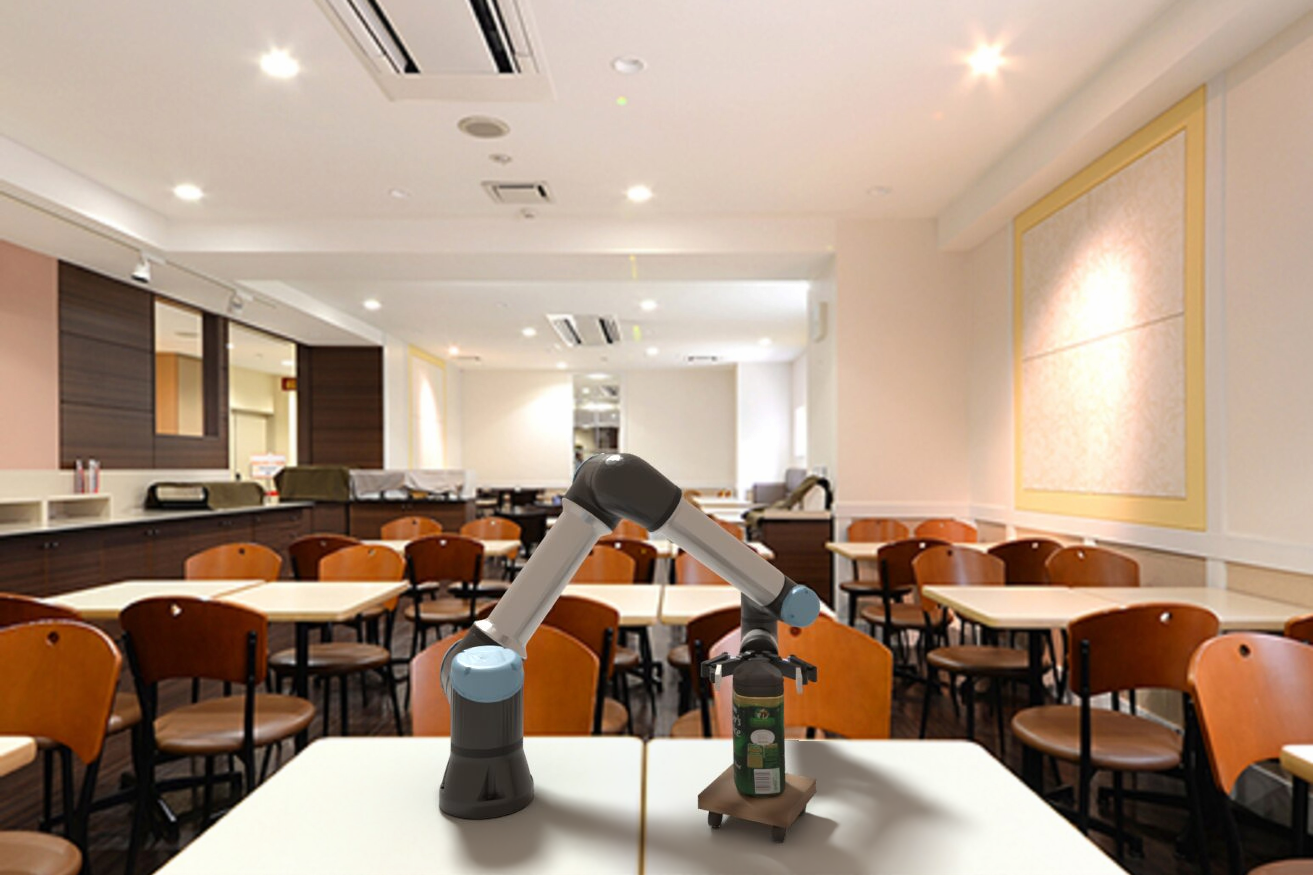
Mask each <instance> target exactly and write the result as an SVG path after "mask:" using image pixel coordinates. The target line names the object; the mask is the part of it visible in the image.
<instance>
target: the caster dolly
mask: <svg viewBox="0 0 1313 875" xmlns="http://www.w3.org/2000/svg"><path fill="white" fill-rule="evenodd" d="M815 794H817V778H815V777H809V776H804V775H797V774H793V773H787V772H785V790H784V792H783V793H782V794H778V795H774V796H770V797H754V796H750V795H746V794H742V793H740V792H739V791H738V790H737V788H736V785H735V783H734V767H733V763H732V764H731V765H729V766H728V767H727V768H726V769H725V770H724V771H723V772H721V774H720V775H718V776H717V777H716V778H715V779H714V780H713V781H712V782H710V783H709V784H708V785H707V786H706V787H705V788H704V789H703V790H702V791H700V792H699V794H697V809H698V810H702V811H707V812H708V813H707V814H708V815H707V823H708V826H709V827H711V828H715V829H719V828H720V827H722V826H721V825H722V823H723V821H724V820H723V819H724V815H725V816H730V817H735V818H738V819H743V820H748V821H751V822H757V823H762V824H766V825H771V826H772V827H771V828H772V829H771V839H772V841H773V842H777V843H784V842H785V839H786V836H787V829H789V828H790V827H791V825H792V824H793V823H794V821H795V820H796V819H797V818H798V816H799V815H800V816H804V815H805V813H806V810H807V805H808V803H809V802H810V801H811V800H812V798H813V797H814V796H815ZM719 826H720V827H719Z"/></svg>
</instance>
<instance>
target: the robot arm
mask: <svg viewBox="0 0 1313 875" xmlns="http://www.w3.org/2000/svg"><path fill="white" fill-rule="evenodd" d="M571 483H572V484H571V486H570V487H569V488H568V490H567V491H566V493H565V495H564V496H563V497H562V499H561V504H562V512H561V513H560V515H559V516H558V517H557V519H556V520H555V521H554V524H553V525H552V526H551V528H550V529H549V531H547V533H546V535H545V536H544V538H543V539H542V540H541V542H540V543H539V544H538V546H537V548H536V549H535V550H534V552H532V555H531V556H530V558H529V559H528V560H527V561H526V563H525V565H523V567H522V569H521V570H520V571H519V573H518V575H517V576H516V577H515V579H514V580H513V581H512V583H511V584H510V585H509V587H508V588H507V590H506V591H505V593H504V594H503V595H502V597H501V598H500V600H499V601H498V603H497V604H496V605H495V607H494V608H493V610H492V611H491V613H490V614H489V615H488V616H487V618H485V619H482V620H475V621H474V622H473V623H472V625H471V626H470V628H469V629H468V630H467V632H466V633H465V634H464V636H463V638H461V639H458V641H455V642H454V643H453V644H452V645H451V646H450V647H449V648H448V650H446V652H445V654H444V655H443V658H442V660H441V664H440V669H439V681H440V686H441V689H442V692H443V693H444V695H445V697H446V699H447V701H448V704H449V710H450V754H449V756H448V761H447V764H446V766H445V769H444V774H443V777H442V781H441V784H440V786H439V790H438V806H439V807H440V809H441V810H442V811H443V812H444V813H446V814H447V815H450V816H453V817H457V818H461V819H463V818H464V819H473V820H474V819H475V820H476V819H492V818H497V817H502V816H507V815H509V814H513V813H515V812H517V811H520V810H522V809H524V808H525V807H527V806H528V805H529V804H530V803H531V802H532V801H533V800H534V796H535V781H534V778H533V776H532V774H531V770H530V767H529V763H528V758H527V757H526V753H525V750H524V682H525V670H524V663H525V661H526V660H527V658H528V654H527V649H526V648H527V644H528V642H529V641H530V639H531V638H532V637H533V635H534V634H535V632H536V631H537V629H538V628H539V626H540V625H541V623H542V622H543V621H544V619H545V618H546V616H547V615H548V613H549V612H550V610H551V609H552V608H553V606H554V605H555V603H556V602H557V600H558V599H559V597H560V596H561V594H562V593H563V592H564V590H565V589H566V587H568V585H569V583H570V582H571V580H572V578H573V577H574V576H575V574H576V573H577V571H578V570H579V568H580V567H581V565H583V564H582V563H584V561H585V559H586V558H587V557H588V556H589V554H590V553H591V551H592V549H593V548H594V546H595V545H596V544H597V542H598V541H599V539H600V538H602V537H605V536H608V535H612V534H613V533H614V531H615V530H616V528H617V527H618V525H619V524H620V523H621V521H622V520H623V519H625V520H628V521H630V522H633V523H634V524H637V525H638V526H640V527H642V528H643V530H644V529H645V531H647V532H648V533H650V534H655V533H660V534H661V535H662V536H664V537H665V538H667V539H668V540H669V541H671V542H672V543H674V545H676V546H677V547H679V548H680V549H681V550H682V551H684V552H686V553H687V554H688V555H690V556H691V557H692V558H694V559H695V560H697V561H698V562H699V563H701V564H702V565H703V566H705V567H706V568H708V569H709V570H711V571H712V572H713V573H715V574H716V575H717V576H719V577H720V578H721V579H723V580H724V581H726V582H727V583H728V584H729V585H731V586H732V587H734V589H737V590H738V591H739V592H740V612H741V613H740V645H739V653H738V654H736V656H731V654H730V653H729V652H727V651H724V652H721V653H720V654H719V655H717V656H715V657H712V658H709V659H706V660H704V661H702V662H701V663H700V678H704V679H707V678H708V677H709V681H710V683H711V684H714V691H715V692H720V691H721V684H722V679H723V678H725V677H729V676H733V671H734V669H735V668H736V667H737V666H738V665H740V664H741V663H743V662H744V661H768V662H769V663H770V664H772V665H774V666H775V667H777V668H778V669H779V670H780V671H781V673H782V675H783V678H784V677H785V678H788V679H791V680H794V681H795V686H796V692H797V695H803V685H804V686H807V685H809V682H812V683H816V682H818V667H817V666H816V665H814V664H812V663H809V662H807V661H805V660H803V659H800V658H799V657H798V656H797V655H795V654H789V656H787V658H782V657H781V655H780V654H779V653H780V652H779V631H778V630H779V628H778V627H779V626H778V625H779V624H778V622H781V623H784V624H786V625H787V626H789V627H796V628H801V629H802V628H807V627H809V626H812V624H813V623H815V622H816V620H817V619H818V617H819V614H820V611H821V602H820V599H819V596H818V595H817V593H816V592H815V591H814V590H813V589H811V588H808V587H807V586H805V585H801V584H798V583H797V582H795V581H794V580H792V579H791V578H790V577H788V576H787V575H785V574H784V573H783V572H781V570H779V569H778V568H777V567H776V566H774V565H772V564H771V563H770V562H769V561H767V560H766V559H764V558H763V556H760V555H759V553H757V552H755V551H754V550H753V549H751V548H750V547H749V546H747V545H746V544H745V543H744V542H742V541H741V540H740V539H738V538H737V537H736V536H734V535H733V534H732V533H730V532H729V531H728V530H726V529H725V528H724V527H722V526H721V525H720V524H718V523H717V522H716V521H714V520H713V519H712V518H710V517H709V516H708V515H707V514H705V513H704V512H703V511H701V510H700V509H699V508H697V507H696V506H695V505H693V504H692V503H691V502H690V501H689V500H687V499H686V498H685V497H684V490H682V489H681V488H680V487H679V486H678V485H677V484H675V483H674V482H672V481H671V480H670V479H669V478H667V477H666V476H665V475H664V474H663V473H662V472H660V471H659V470H658V469H657V468H655V467H654V466H653V465H651V463H649V462H648V461H646V460H645V459H643V458H642V457H640V456H637V455H636V454H633V453H632V454H631V453H627V452H626V453H625V452H621V453H620V452H618V453H613V452H602V453H598V454H594V455H592V456H590V457H589V458H587V459H585V460H584V461H583V462H581V463H580V464H579V466H578V467H577V468H576V470H575V472H574V474H573V477H572V481H571Z"/></svg>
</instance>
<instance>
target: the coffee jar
mask: <svg viewBox="0 0 1313 875" xmlns="http://www.w3.org/2000/svg"><path fill="white" fill-rule="evenodd" d="M784 682H785V678H784V676H783V675H782V673H781V671H780V670H779V669H778V668H777V667H775V666H774V665H772V664H770V663H769V662H768V661H744V662H743V663H741V664H740V665H738V666H737V667H736V668H735V669H734V671H733V675H732V687H731V688H732V698H731V699H732V702H731V707H732V708H731V710H732V711H731V712H732V713H731V714H732V718H731V719H732V745H733V746H732V756H733V758H732V759H733V762H732V764H733V767H734V783H735V785H736V788H737V790H738V791H739V792H740V793H742V794H746V795H750V796H754V797H770V796H774V795H778V794H782V793H783V792H784V790H785V773H786V757H785V756H786V750H785V749H786V746H785V744H786V743H785V737H786V736H785V735H786V733H785V684H784Z"/></svg>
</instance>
